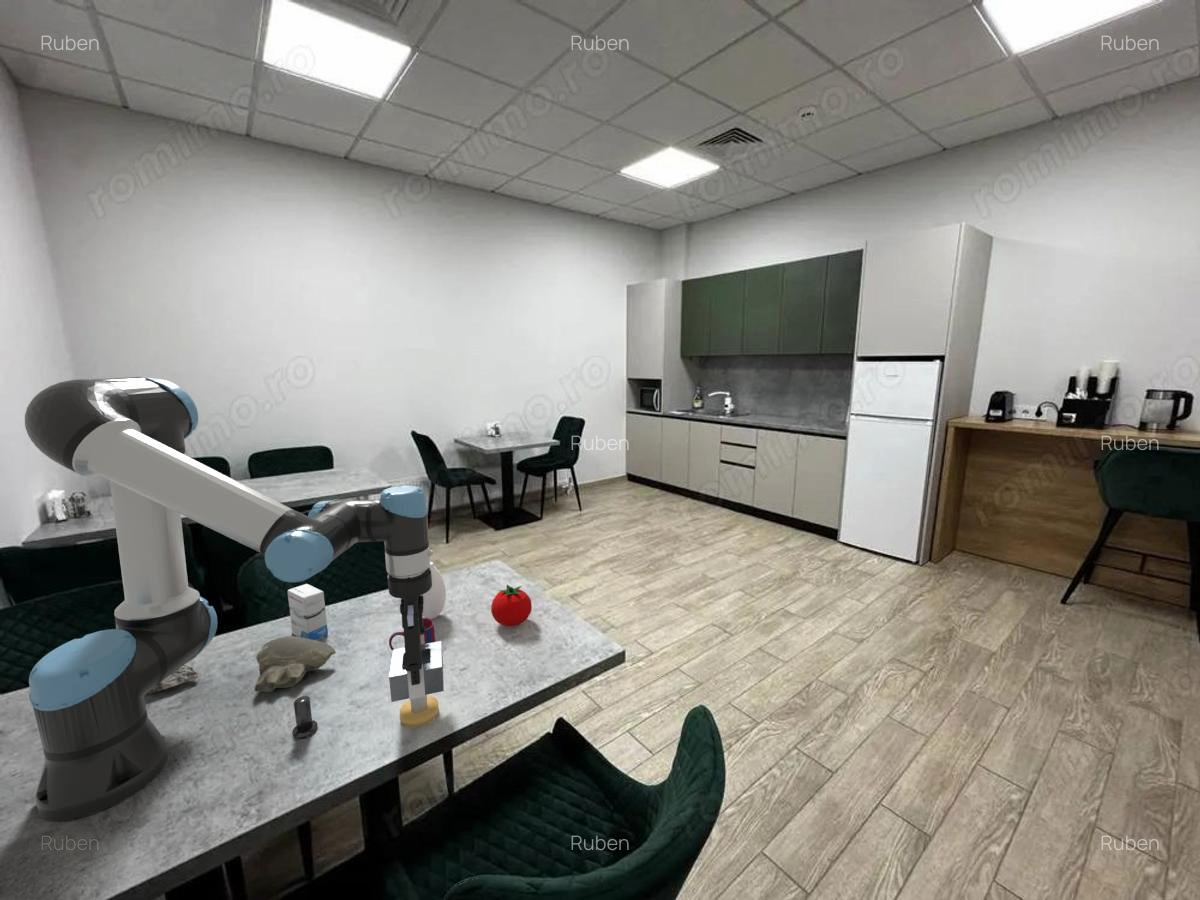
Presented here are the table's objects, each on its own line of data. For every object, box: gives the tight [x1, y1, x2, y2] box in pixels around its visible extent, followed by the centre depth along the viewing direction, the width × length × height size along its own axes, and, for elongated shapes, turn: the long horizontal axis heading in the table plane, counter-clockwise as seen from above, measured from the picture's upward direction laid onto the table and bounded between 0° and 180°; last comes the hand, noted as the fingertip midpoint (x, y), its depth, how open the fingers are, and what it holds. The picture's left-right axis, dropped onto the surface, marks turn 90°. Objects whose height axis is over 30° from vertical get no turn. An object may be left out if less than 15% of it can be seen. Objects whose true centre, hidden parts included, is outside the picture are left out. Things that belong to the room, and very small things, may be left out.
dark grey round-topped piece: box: [291, 695, 319, 740], centre depth 90 cm, size 4×4×6 cm
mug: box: [388, 617, 436, 652], centre depth 114 cm, size 7×10×7 cm
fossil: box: [253, 635, 337, 693], centre depth 106 cm, size 14×10×10 cm
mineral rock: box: [146, 664, 200, 694], centre depth 104 cm, size 15×8×4 cm, turn 73°
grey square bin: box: [388, 640, 445, 703], centre depth 93 cm, size 9×9×5 cm
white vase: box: [422, 561, 447, 620], centre depth 129 cm, size 8×8×18 cm
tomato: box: [490, 584, 532, 628], centre depth 127 cm, size 10×10×10 cm
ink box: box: [287, 583, 329, 641], centre depth 122 cm, size 8×5×12 cm, turn 58°
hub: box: [399, 694, 440, 728], centre depth 94 cm, size 7×7×8 cm
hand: (418, 680), depth 94 cm, fingers closed on grey square bin, 9 cm apart
